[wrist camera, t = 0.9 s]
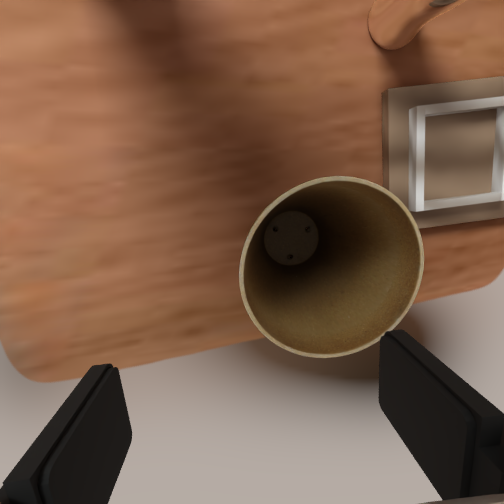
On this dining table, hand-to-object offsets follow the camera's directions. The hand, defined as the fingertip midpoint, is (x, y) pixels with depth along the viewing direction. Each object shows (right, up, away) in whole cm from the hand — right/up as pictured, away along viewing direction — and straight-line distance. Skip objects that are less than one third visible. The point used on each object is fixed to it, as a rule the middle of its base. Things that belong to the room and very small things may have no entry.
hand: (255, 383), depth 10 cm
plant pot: (+5, +6, +28) cm, 29 cm away
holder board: (+25, +17, +27) cm, 40 cm away
